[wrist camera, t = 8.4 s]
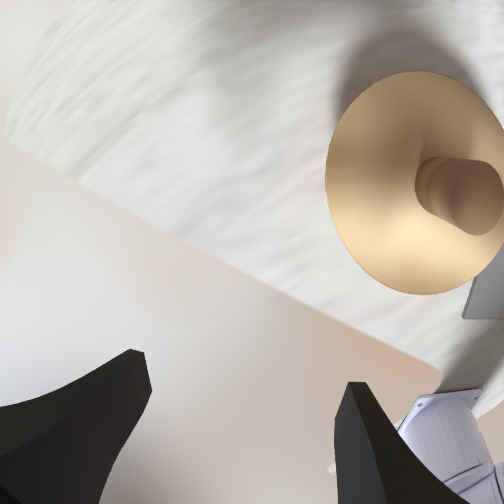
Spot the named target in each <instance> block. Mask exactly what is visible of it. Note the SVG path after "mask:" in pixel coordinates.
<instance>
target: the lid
mask: <svg viewBox="0 0 504 504" xmlns="http://www.w3.org/2000/svg"><path fill="white" fill-rule="evenodd" d="M325 180H326V194H327V200H328V206H329V210H330V213H331V217H332V220H333V223H334V225H335V227H336V230H337V232H338V234H339V236H340V239H341V240H342V242H343V244H344V245H345V247H346V249H347V251H348V252H349V254H350V255H351V256H352V258H353V259H354V260H355V261H356V263H357V264H358V265H359V266H360V267H361V268H362V269H363V270H364V271H365V272H366V273H367V274H369V275H370V276H371V277H372V278H374V279H375V280H376V281H378V282H380V283H382V284H383V285H385V286H387V287H389V288H392V289H394V290H397V291H399V292H404V293H408V294H415V295H431V294H438V293H443V292H447V291H449V290H452V289H455V288H457V287H459V286H461V285H463V284H465V283H467V282H468V281H470V280H471V279H473V278H474V277H475V276H477V275H478V274H479V273H480V272H481V271H482V270H483V269H484V268H486V266H487V265H488V264H489V263H490V262H491V261H492V259H493V258H494V257H495V255H496V254H497V252H498V251H499V249H500V248H501V246H502V244H503V242H504V130H503V128H502V126H501V124H500V122H499V120H498V119H497V117H496V116H495V114H494V113H493V112H492V110H491V109H490V108H489V107H488V106H487V104H486V103H485V102H484V101H483V100H482V99H481V98H480V97H479V96H478V95H477V94H475V93H474V92H473V91H472V90H470V89H469V88H468V87H466V86H465V85H463V84H462V83H460V82H458V81H456V80H454V79H452V78H450V77H447V76H444V75H441V74H438V73H432V72H427V71H408V72H402V73H397V74H394V75H391V76H388V77H385V78H383V79H381V80H380V81H378V82H376V83H374V84H373V85H371V86H370V87H369V88H367V89H366V90H365V91H363V92H362V93H361V94H360V95H359V96H358V97H357V98H356V99H355V100H354V101H353V102H352V103H351V104H350V106H349V107H348V108H347V110H346V111H345V113H344V114H343V115H342V117H341V119H340V121H339V123H338V125H337V127H336V129H335V131H334V134H333V136H332V139H331V142H330V145H329V150H328V155H327V160H326V173H325Z"/></svg>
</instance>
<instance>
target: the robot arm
mask: <svg viewBox="0 0 504 504" xmlns="http://www.w3.org/2000/svg"><path fill="white" fill-rule="evenodd" d="M151 393H152V388H151V383H150V379H149V374H148V370H147V365H146V360H145V355H144V352H140V351H137V350H132V349H129V350H127V351H125V352H123V353H122V354H120V355H118V356H117V357H115V358H113V359H112V360H110V361H108V362H107V363H105V364H103V365H102V366H100V367H98V368H97V369H95V370H93V371H92V372H90V373H88V374H86V375H85V376H83V377H81V378H79V379H77V380H75V381H73V382H72V383H69V384H68V385H66V386H64V387H62V388H59V389H57V390H55V391H53V392H50V393H48V394H45V395H43V396H40V397H37V398H34V399H31V400H27V401H24V402H20V403H17V404H13V405H8V406H3V407H0V504H99V500H100V497H101V494H102V492H103V489H104V486H105V483H106V481H107V478H108V476H109V473H110V471H111V469H112V466H113V464H114V462H115V460H116V458H117V456H118V454H119V452H120V451H121V449H122V447H123V446H124V444H125V442H126V441H127V439H128V437H129V436H130V434H131V432H132V431H133V429H134V427H135V426H136V424H137V422H138V421H139V419H140V417H141V416H142V414H143V412H144V410H145V407H146V405H147V403H148V400H149V398H150V395H151ZM481 394H482V390H481V389H474V390H467V391H459V392H450V393H440V394H428V395H421V396H419V397H418V398H417V399H416V401H415V403H414V405H413V407H412V408H411V410H410V412H409V414H408V415H407V417H406V419H405V420H404V422H403V424H402V425H401V427H400V428H399V430H398V432H397V430H396V429H395V427H394V426H393V424H392V423H391V422H390V420H389V419H388V417H387V416H386V414H385V412H384V411H383V409H382V408H381V406H380V405H379V403H378V401H377V400H376V398H375V397H374V395H373V393H372V392H371V390H370V388H369V386H368V385H367V383H366V382H348V385H347V387H346V390H345V393H344V396H343V399H342V401H341V404H340V407H339V409H338V412H337V415H336V417H335V429H334V448H335V461H336V474H337V487H338V504H504V463H503V462H500V463H499V464H498V465H495V464H494V463H493V461H492V458H491V456H490V453H489V450H488V448H487V445H486V443H485V441H484V438H483V436H482V434H481V431H480V429H479V427H478V424H477V422H476V420H475V418H474V415H473V413H472V411H471V409H472V408H473V406H474V405H475V403H476V402H477V400H478V399H479V397H480V396H481Z"/></svg>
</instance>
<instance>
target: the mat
mask: <svg viewBox="0 0 504 504" xmlns="http://www.w3.org/2000/svg"><path fill="white" fill-rule="evenodd" d="M462 318H463V319H504V242H503V244H502V246H501V248H500V249H499V251H498V252H497V254H496V255H495V257H494V258H493V259H492V261H491V262H490V263H489V264H488V265H487V266H486V268H484V269H483V270H482V271H481V272H480V273H479V274H478V275H477V276H475V278H474V281H473V285H472V288H471V291H470V294H469V297H468V300H467V303H466V306H465V309H464V312H463V314H462Z"/></svg>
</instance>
